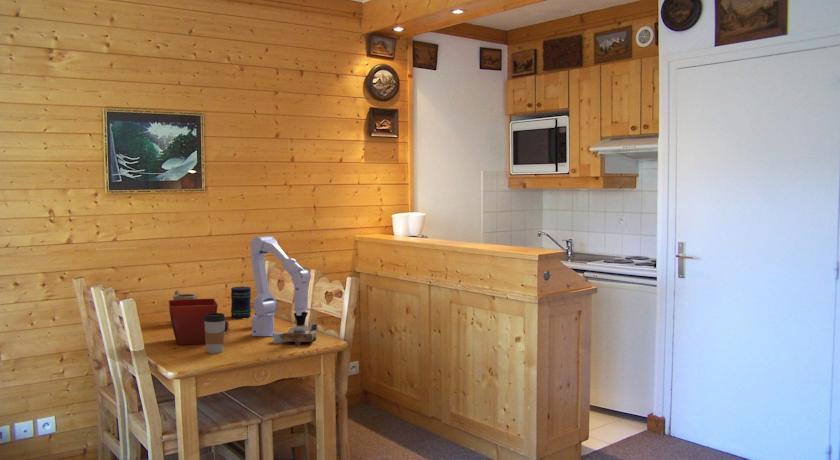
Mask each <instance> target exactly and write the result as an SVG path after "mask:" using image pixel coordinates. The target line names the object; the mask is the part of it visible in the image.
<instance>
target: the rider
mask: <svg viewBox="0 0 840 460" xmlns="http://www.w3.org/2000/svg"><path fill="white" fill-rule="evenodd" d="M293 328H294V333H305V328H306V324H304V325H301V324H297V323H296V324H295V325H294V326H293Z"/></svg>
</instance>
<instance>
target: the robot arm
mask: <svg viewBox="0 0 840 460" xmlns="http://www.w3.org/2000/svg"><path fill="white" fill-rule="evenodd" d="M249 246H250V260H251V266H252V271H253V273H252V274H253V277H254V278H253V279H254V283H255V289H256V294H257V295H256V296H255V297H254V299H253V303H254V304H253V311H254V315H252V318H251V337H273V332H275V330H274V329H275V324H274V323H275V318H274V317H275V316H274V315H275V313H276V311H278V303H277V301H276V299H275V296H274V294H273V293H271V291H270V285H269V281H268V275H267V270H266V264H265V263H266V262H265V259H264V258H265V257H266V256H267V254H269V253H271V254H272V255H273V256H274V257H276V258H277V260H279V261H280V262H281V263H282V268H283V269H284V270H285V271H286V273H288V274H289V275H290V277H291V281H292V282H293V283H292V284H293V288H294V296H293V297H294V298H293V299H294V300H293V302H294V306H293V311H294V313H293V316H294V318H295V320H296V324H301V325H306V323H305V322H306V319H307V316H308V314H309V313H308V311H311V307H309V306H308V305H309V304H308V303H309V301H308V299H309V283H310V281H311V277H312V276H311V273H310V271H309V270H308V269H304V268H303V267H302V266H301V265H299V263H298V262H297V260H296V259H295V258H292V257H290V258H289V256H288V255H287V254H286V253H285V252H284V251H283V249H282V248H281V247H280V245H279V244H278V241H277V239H275V238H274V236H271V235H266V236H255V237H253V238H252V240H251V241H250V242H249ZM264 299H265V300H264ZM263 300H264V301H263ZM255 313H256V315H255Z"/></svg>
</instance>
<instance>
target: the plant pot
mask: <svg viewBox="0 0 840 460" xmlns="http://www.w3.org/2000/svg"><path fill="white" fill-rule="evenodd" d="M167 302H168V308H169V309H168V310H169V315H170V321H171V323H172V325H171V328H172V332H173V335H174V338H175V342H176V344H177V346H179V345H180V346H181V345H197V344H198V345H199V344H206V341H205V323H204V317H205V315H206V314H209V313H218V302H217V301H216V299H215V298H197V299H186V300H173V299H172V300H171V299H170V300H167Z"/></svg>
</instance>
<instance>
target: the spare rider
mask: <svg viewBox="0 0 840 460" xmlns="http://www.w3.org/2000/svg"><path fill="white" fill-rule="evenodd" d="M283 333H284V332H283V331H278V332H277V331H274V332H273V336H272V343H273V344H284V343H285V341H283Z"/></svg>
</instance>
